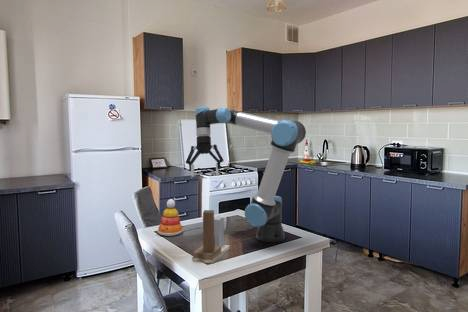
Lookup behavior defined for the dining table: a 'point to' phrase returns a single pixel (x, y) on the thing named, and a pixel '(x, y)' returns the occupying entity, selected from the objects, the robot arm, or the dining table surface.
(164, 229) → the stacking toy
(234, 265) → the dining table surface
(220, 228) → the grey pillar
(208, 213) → the wooden block
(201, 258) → the base board
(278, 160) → the robot arm
